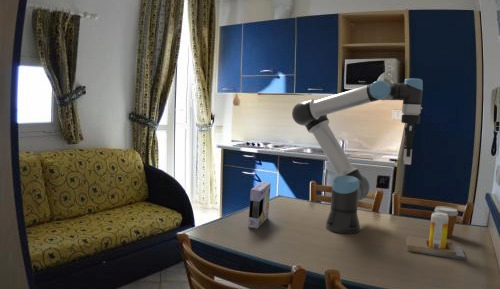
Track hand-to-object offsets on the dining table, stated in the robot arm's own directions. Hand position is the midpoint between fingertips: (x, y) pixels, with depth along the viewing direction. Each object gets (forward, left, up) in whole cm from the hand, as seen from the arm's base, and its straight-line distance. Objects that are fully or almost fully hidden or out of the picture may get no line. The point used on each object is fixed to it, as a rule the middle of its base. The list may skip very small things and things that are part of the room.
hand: (406, 162), depth 173 cm
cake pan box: (-62, -19, -32) cm, 72 cm away
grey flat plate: (+15, -19, -32) cm, 40 cm away
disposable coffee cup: (+18, +5, -32) cm, 37 cm away
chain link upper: (+10, -19, -32) cm, 38 cm away
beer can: (+13, -19, -32) cm, 39 cm away
